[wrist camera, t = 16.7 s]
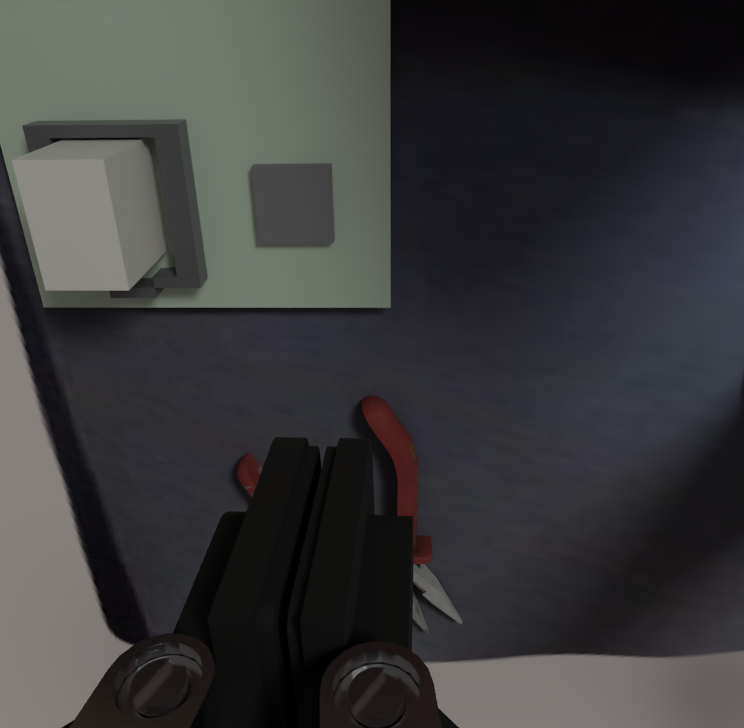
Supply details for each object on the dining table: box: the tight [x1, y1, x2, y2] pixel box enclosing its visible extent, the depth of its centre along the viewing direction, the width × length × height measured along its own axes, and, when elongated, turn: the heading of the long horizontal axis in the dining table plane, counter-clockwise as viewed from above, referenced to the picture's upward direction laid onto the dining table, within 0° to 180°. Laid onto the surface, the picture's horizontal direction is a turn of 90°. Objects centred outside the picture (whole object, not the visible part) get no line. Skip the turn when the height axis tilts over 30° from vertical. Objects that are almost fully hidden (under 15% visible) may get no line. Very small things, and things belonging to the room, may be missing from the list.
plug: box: [12, 137, 168, 291], centre depth 33 cm, size 4×7×6 cm, turn 1°
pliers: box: [237, 396, 463, 635], centre depth 46 cm, size 12×20×3 cm, turn 29°
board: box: [0, 0, 391, 308], centre depth 33 cm, size 20×22×2 cm
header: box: [22, 119, 208, 298], centre depth 35 cm, size 8×9×2 cm
